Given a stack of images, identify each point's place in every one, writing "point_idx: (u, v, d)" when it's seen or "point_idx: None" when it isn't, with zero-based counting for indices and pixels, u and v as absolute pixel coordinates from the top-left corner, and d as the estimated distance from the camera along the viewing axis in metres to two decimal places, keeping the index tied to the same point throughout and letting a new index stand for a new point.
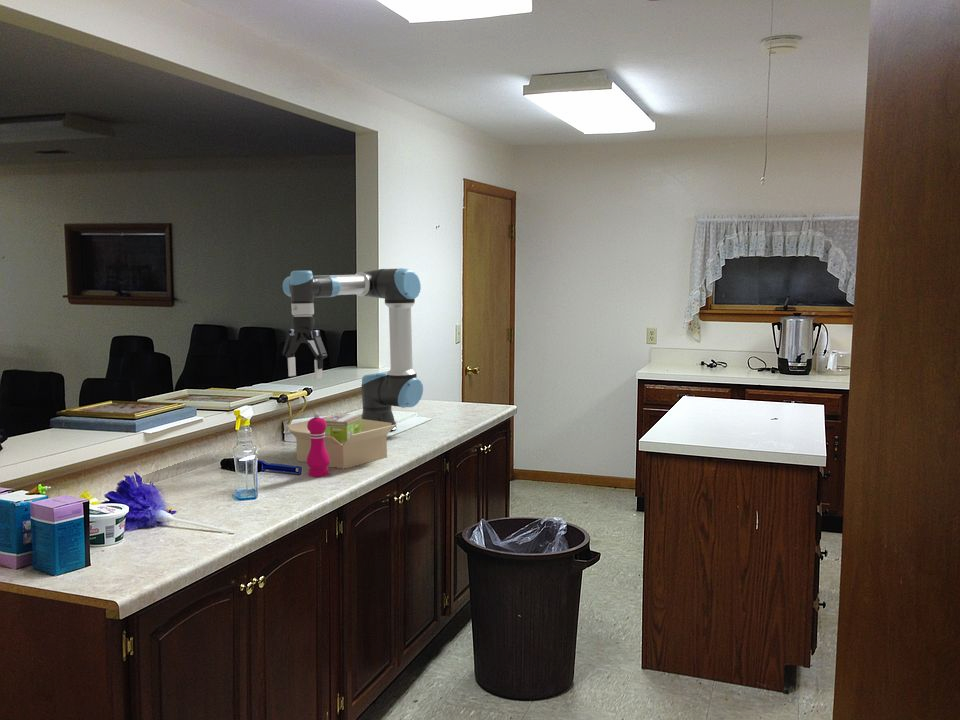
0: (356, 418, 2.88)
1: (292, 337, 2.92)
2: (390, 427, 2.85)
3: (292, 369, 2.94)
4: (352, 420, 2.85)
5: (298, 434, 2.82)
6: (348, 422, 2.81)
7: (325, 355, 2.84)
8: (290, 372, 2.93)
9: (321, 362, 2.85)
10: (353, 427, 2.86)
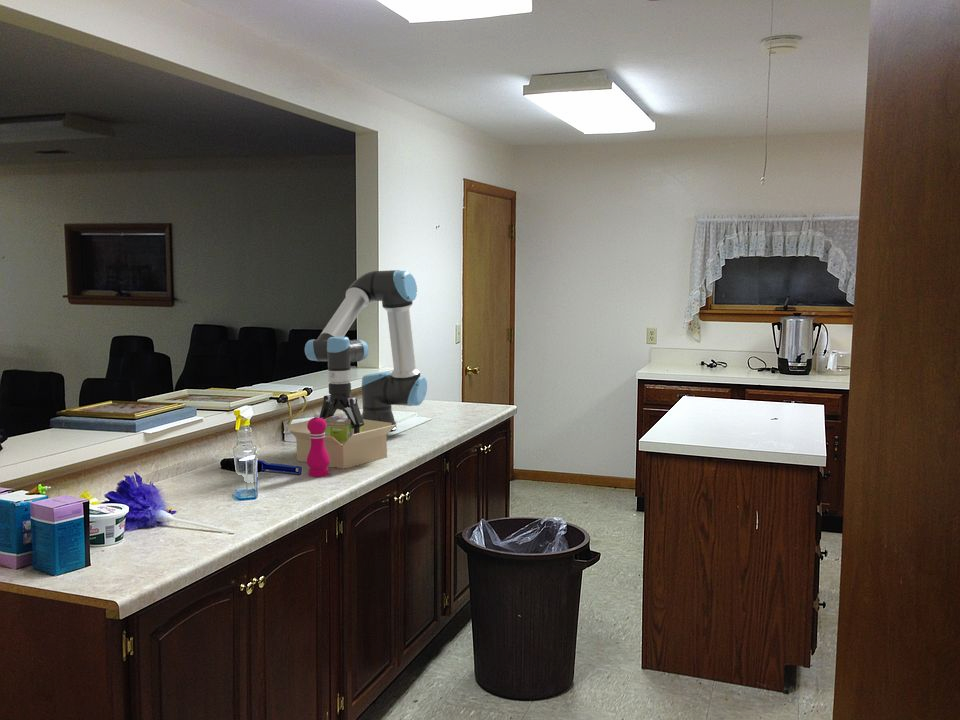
0: None
1: (328, 403, 2.91)
2: (390, 427, 2.85)
3: None
4: None
5: (298, 434, 2.82)
6: (348, 422, 2.81)
7: (362, 423, 2.82)
8: None
9: (358, 430, 2.83)
10: None
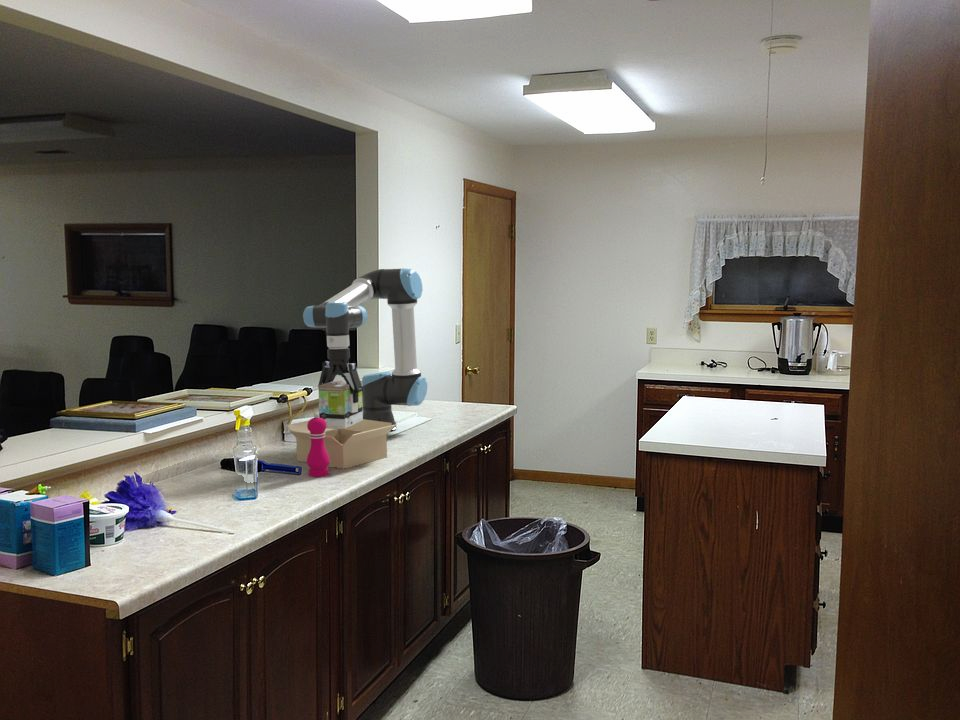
0: None
1: (327, 369, 2.89)
2: (390, 427, 2.85)
3: None
4: None
5: (298, 434, 2.82)
6: (346, 387, 2.80)
7: (361, 389, 2.81)
8: None
9: (356, 396, 2.82)
10: None
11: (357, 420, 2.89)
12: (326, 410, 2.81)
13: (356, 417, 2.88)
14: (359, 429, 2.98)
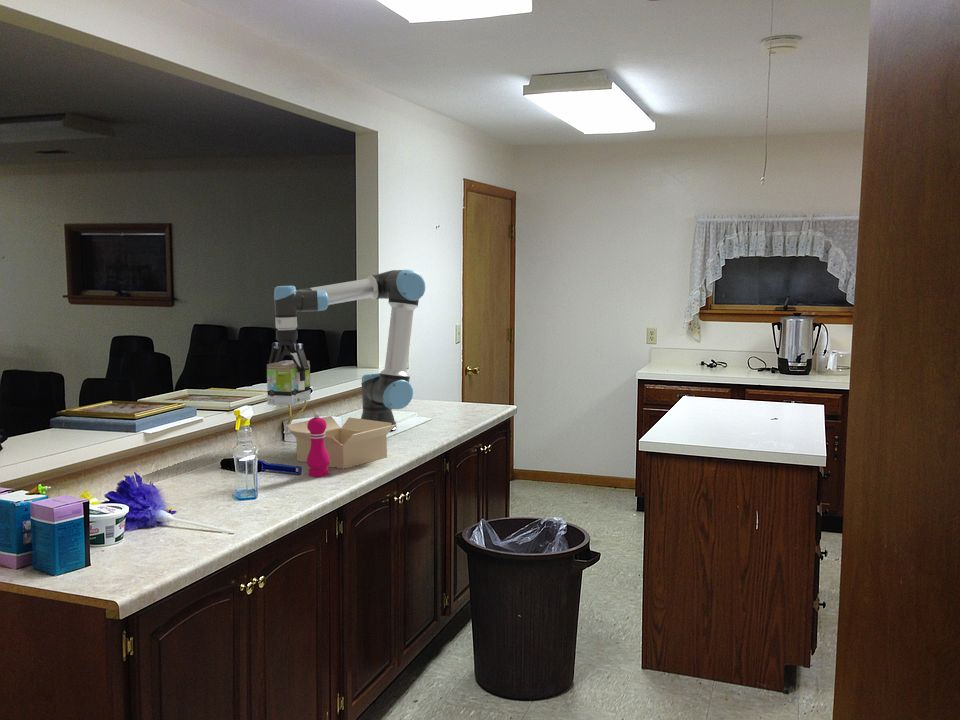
0: None
1: (276, 349, 3.06)
2: (390, 427, 2.85)
3: None
4: None
5: (298, 434, 2.82)
6: (293, 366, 2.96)
7: (307, 368, 2.97)
8: None
9: (303, 374, 2.98)
10: None
11: (304, 398, 3.05)
12: (274, 388, 2.97)
13: (303, 395, 3.04)
14: (359, 429, 2.98)
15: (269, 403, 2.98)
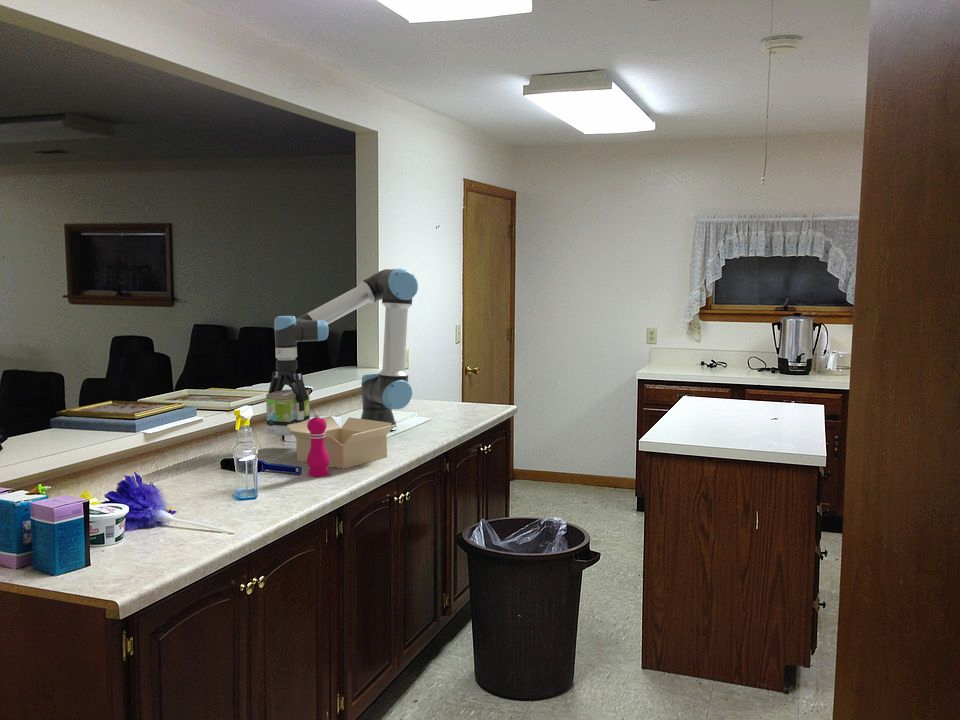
0: None
1: (276, 379, 3.07)
2: (390, 427, 2.85)
3: None
4: None
5: (298, 434, 2.82)
6: (292, 396, 2.97)
7: (306, 398, 2.99)
8: None
9: (302, 404, 3.00)
10: None
11: None
12: (273, 417, 2.98)
13: None
14: (359, 429, 2.98)
15: (268, 433, 2.99)
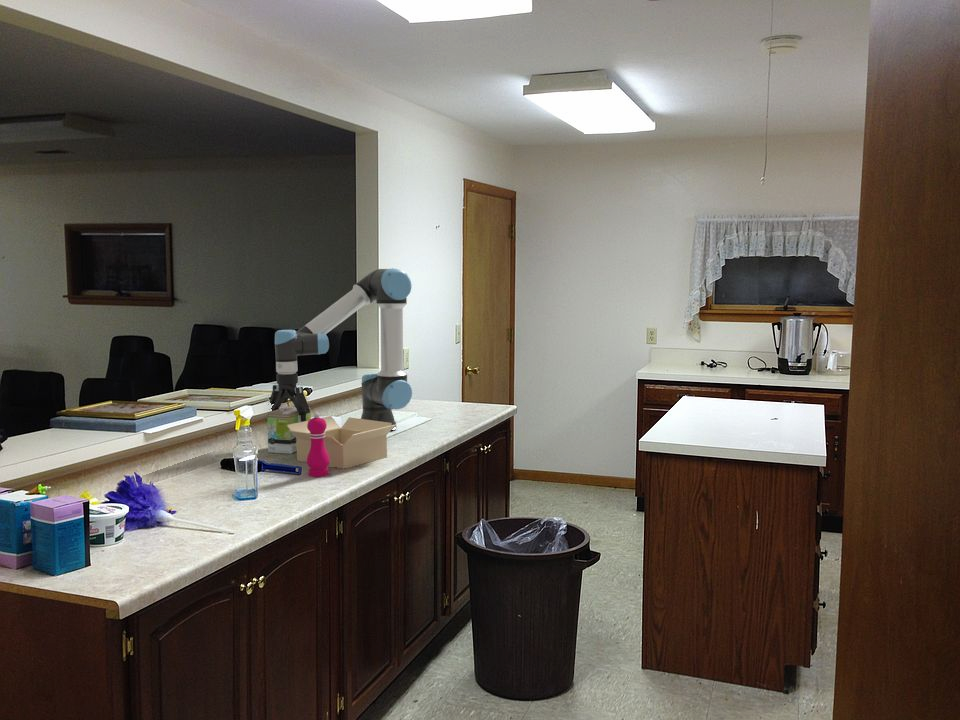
0: None
1: (277, 392, 3.08)
2: (390, 427, 2.85)
3: None
4: (298, 412, 3.02)
5: (298, 434, 2.82)
6: (293, 414, 2.98)
7: (308, 411, 2.99)
8: None
9: (304, 417, 3.00)
10: None
11: None
12: (274, 436, 2.99)
13: None
14: (359, 429, 2.98)
15: (269, 451, 3.00)
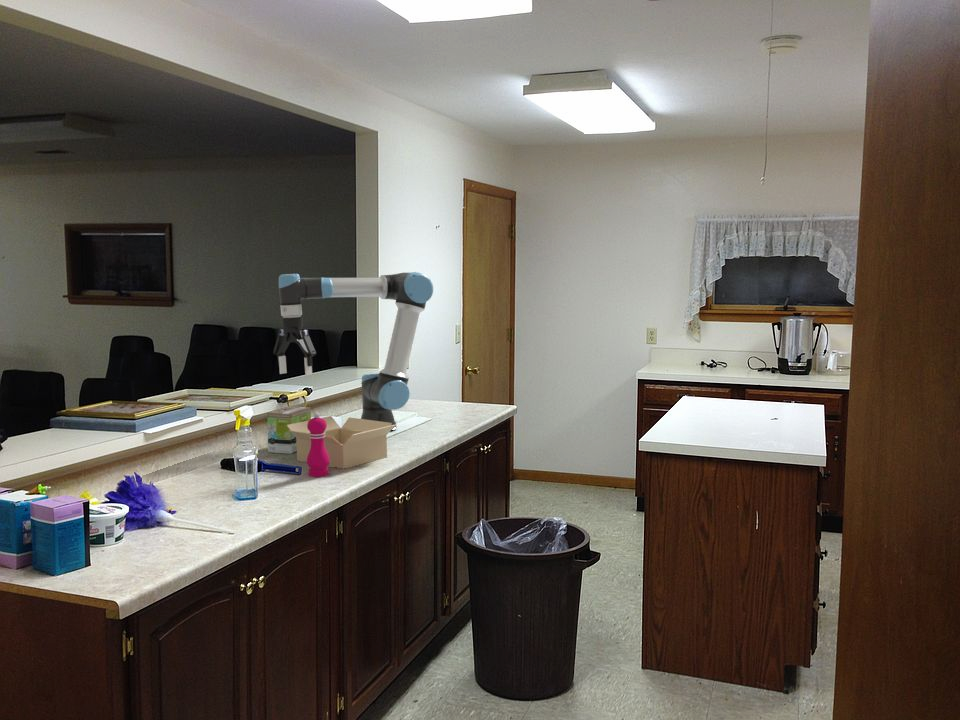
0: (303, 411, 3.05)
1: (282, 337, 3.10)
2: (390, 427, 2.85)
3: (283, 367, 3.12)
4: (298, 412, 3.02)
5: (298, 434, 2.82)
6: (293, 414, 2.98)
7: (314, 353, 3.02)
8: (281, 370, 3.11)
9: (310, 360, 3.03)
10: (299, 419, 3.03)
11: None
12: (274, 436, 2.99)
13: None
14: (359, 429, 2.98)
15: (269, 451, 3.00)
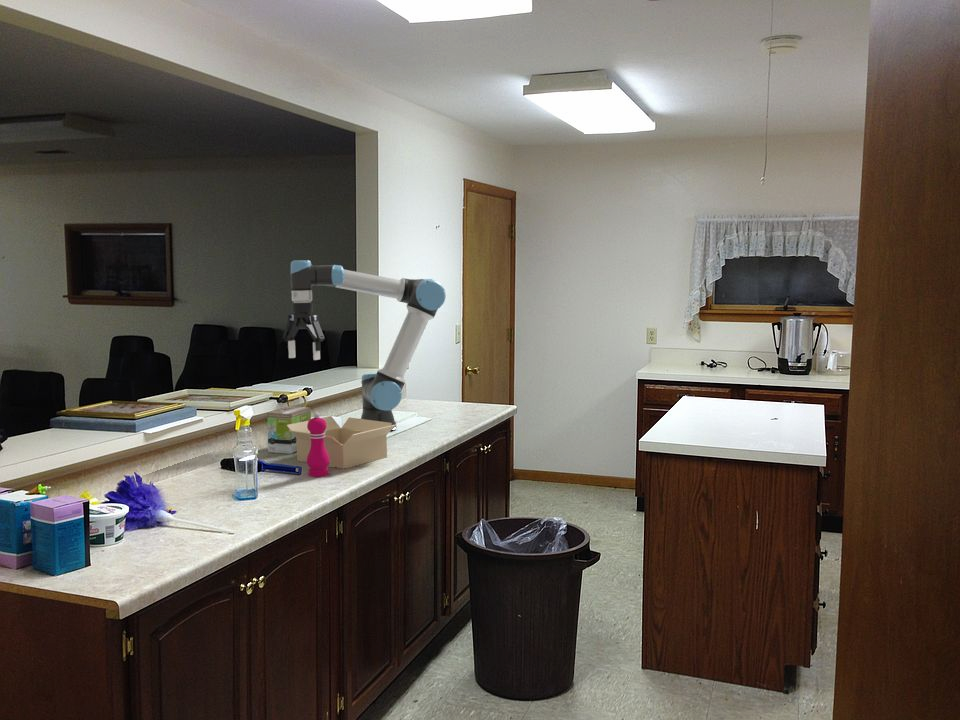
0: (303, 411, 3.05)
1: (292, 322, 3.17)
2: (390, 427, 2.85)
3: (292, 351, 3.18)
4: (298, 412, 3.02)
5: (298, 434, 2.82)
6: (293, 414, 2.98)
7: (322, 338, 3.08)
8: (290, 354, 3.18)
9: (319, 344, 3.09)
10: (299, 419, 3.03)
11: None
12: (274, 436, 2.99)
13: None
14: (359, 429, 2.98)
15: (269, 451, 3.00)
